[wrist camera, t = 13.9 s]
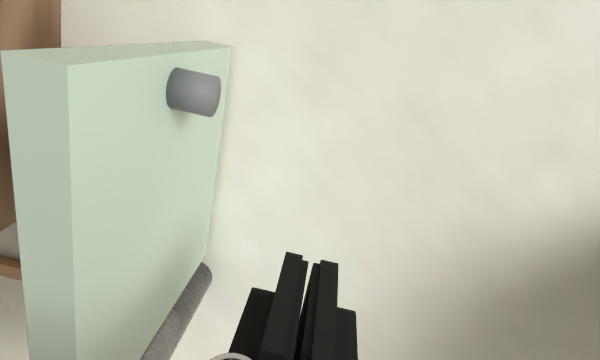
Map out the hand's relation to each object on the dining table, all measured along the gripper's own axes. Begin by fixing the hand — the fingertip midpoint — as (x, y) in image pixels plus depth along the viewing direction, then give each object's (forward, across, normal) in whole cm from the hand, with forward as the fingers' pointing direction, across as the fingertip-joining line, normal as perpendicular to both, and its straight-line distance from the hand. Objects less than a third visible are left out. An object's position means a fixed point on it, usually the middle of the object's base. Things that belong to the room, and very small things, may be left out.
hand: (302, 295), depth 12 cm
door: (+7, +5, -1) cm, 9 cm away
